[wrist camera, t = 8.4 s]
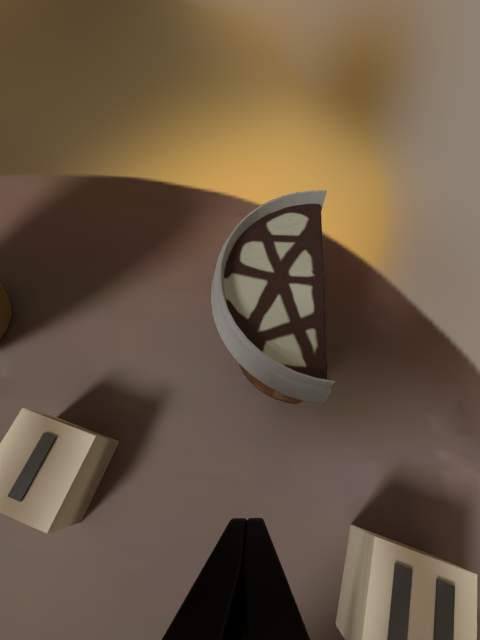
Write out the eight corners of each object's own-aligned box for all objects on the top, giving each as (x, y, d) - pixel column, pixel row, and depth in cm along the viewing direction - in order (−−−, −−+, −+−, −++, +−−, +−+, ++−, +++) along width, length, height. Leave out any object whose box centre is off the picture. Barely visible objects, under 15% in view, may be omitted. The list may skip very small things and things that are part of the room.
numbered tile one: (119, 441, 22) (94, 435, 18) (82, 521, 20) (45, 533, 16) (57, 417, 23) (21, 407, 19) (15, 492, 21) (-36, 498, 17)
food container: (227, 273, 28) (221, 177, 19) (298, 277, 27) (326, 183, 18) (210, 417, 22) (189, 383, 13) (297, 425, 22) (336, 395, 13)
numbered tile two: (432, 554, 19) (479, 575, 15) (426, 661, 17) (478, 716, 13) (350, 523, 20) (375, 536, 16) (334, 623, 18) (360, 665, 14)
